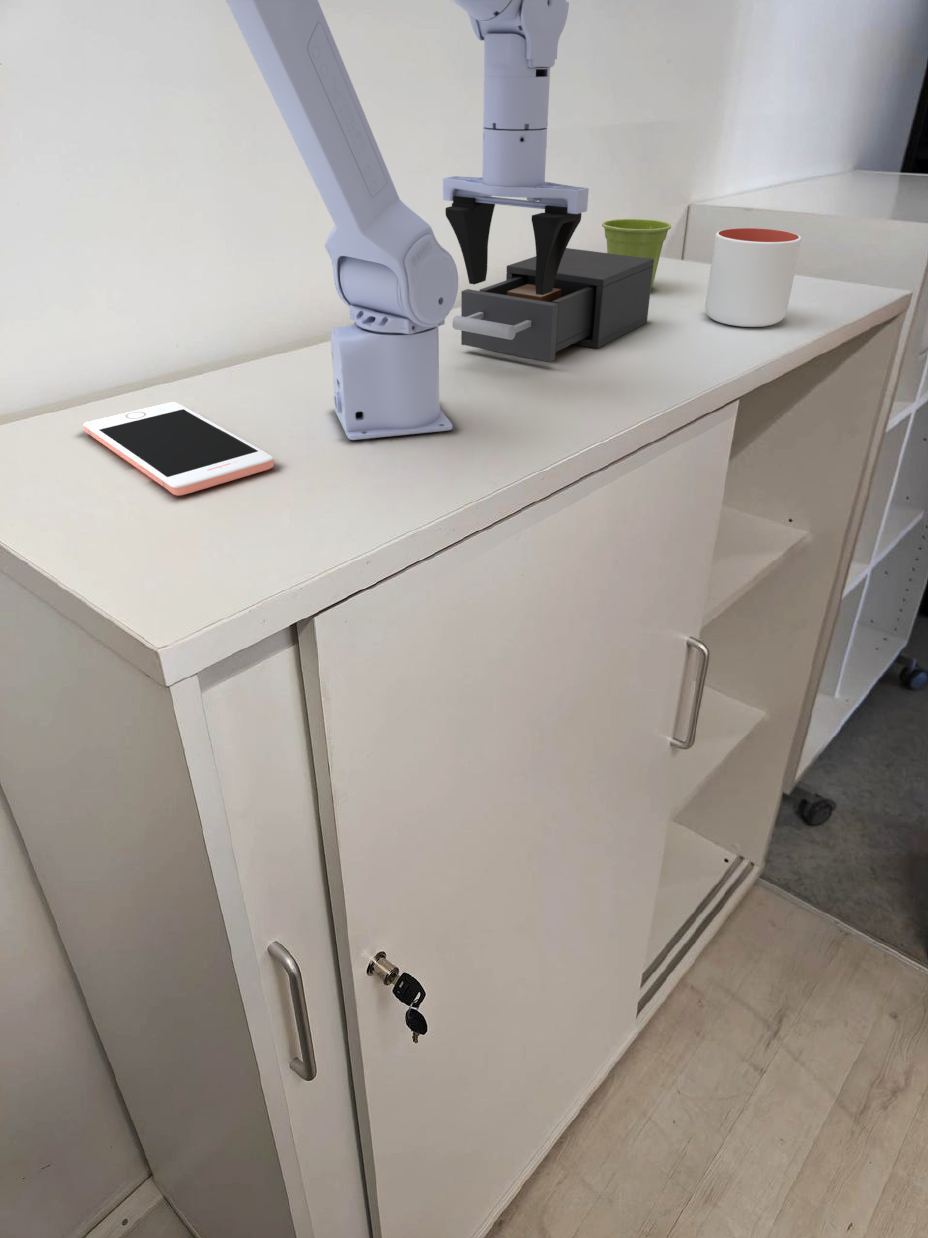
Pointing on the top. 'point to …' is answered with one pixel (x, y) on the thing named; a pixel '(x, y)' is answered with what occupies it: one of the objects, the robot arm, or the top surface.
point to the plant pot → (636, 238)
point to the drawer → (526, 318)
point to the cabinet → (604, 289)
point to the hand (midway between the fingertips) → (510, 287)
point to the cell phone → (178, 447)
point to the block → (534, 293)
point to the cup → (751, 276)
